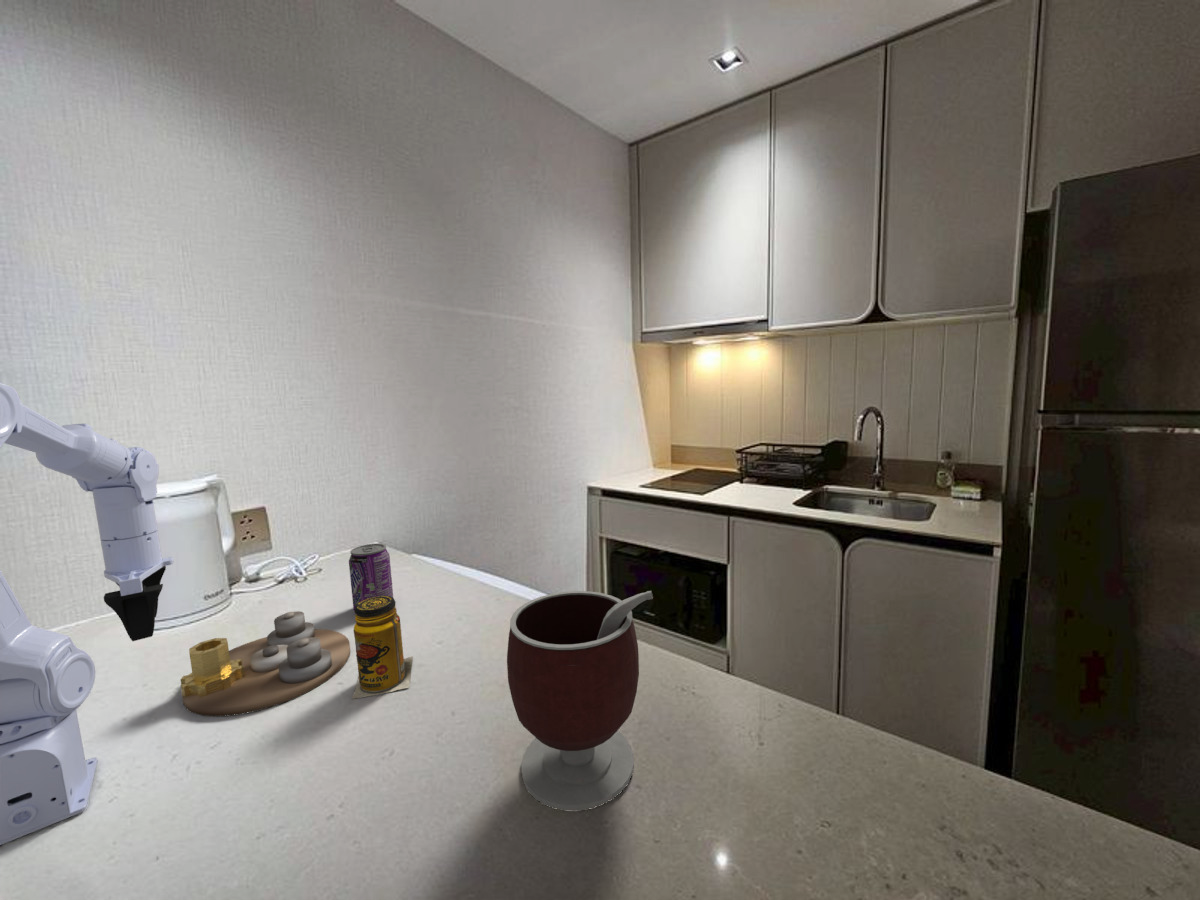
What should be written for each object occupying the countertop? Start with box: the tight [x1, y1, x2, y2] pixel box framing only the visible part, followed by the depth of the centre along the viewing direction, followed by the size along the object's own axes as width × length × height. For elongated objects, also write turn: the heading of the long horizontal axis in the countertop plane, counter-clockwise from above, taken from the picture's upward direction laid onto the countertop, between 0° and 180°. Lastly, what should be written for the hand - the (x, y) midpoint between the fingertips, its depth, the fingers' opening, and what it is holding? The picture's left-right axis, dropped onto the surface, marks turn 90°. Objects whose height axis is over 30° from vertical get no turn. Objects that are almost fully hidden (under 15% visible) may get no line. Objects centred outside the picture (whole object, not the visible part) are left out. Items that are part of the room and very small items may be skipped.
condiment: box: [351, 596, 414, 700], centre depth 71 cm, size 7×8×12 cm
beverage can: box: [348, 543, 394, 612], centre depth 94 cm, size 7×7×12 cm
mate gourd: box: [506, 590, 654, 811], centre depth 52 cm, size 16×14×20 cm
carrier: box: [181, 610, 351, 717], centre depth 74 cm, size 21×21×6 cm
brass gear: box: [180, 637, 244, 697], centre depth 69 cm, size 7×7×6 cm
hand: (144, 627), depth 69 cm, fingers open, 7 cm apart
